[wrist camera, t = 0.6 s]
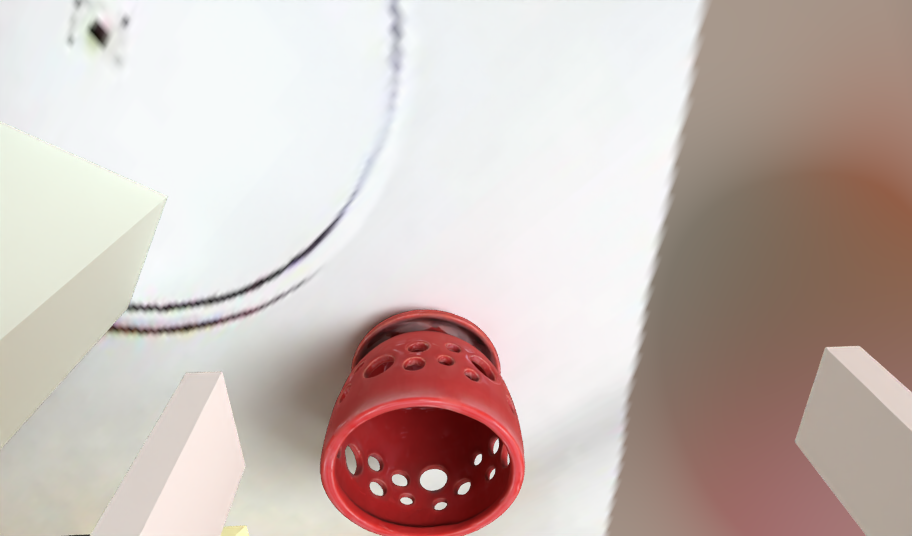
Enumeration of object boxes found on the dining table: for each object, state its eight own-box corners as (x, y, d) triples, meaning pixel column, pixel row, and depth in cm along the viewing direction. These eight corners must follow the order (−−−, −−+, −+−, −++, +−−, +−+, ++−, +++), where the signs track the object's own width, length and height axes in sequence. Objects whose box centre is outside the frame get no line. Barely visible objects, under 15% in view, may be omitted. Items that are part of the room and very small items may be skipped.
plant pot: (326, 306, 45) (295, 411, 34) (497, 285, 45) (519, 383, 34) (359, 437, 51) (341, 560, 40) (511, 418, 51) (533, 537, 40)
